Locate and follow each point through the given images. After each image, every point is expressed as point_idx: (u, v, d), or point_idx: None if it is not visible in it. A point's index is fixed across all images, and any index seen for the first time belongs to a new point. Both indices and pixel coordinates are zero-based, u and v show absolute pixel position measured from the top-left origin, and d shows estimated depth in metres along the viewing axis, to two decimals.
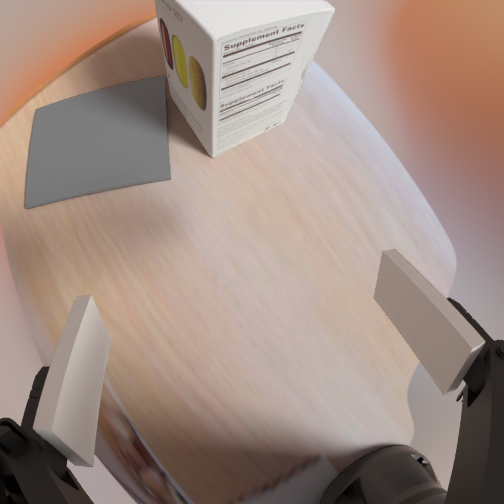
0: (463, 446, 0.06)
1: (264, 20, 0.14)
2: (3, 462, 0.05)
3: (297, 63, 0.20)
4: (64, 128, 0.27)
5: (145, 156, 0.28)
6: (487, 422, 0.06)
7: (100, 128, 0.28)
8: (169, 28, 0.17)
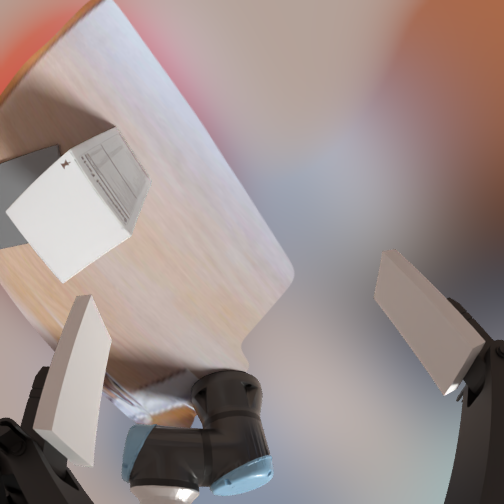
0: (463, 446, 0.06)
1: (83, 266, 0.24)
2: (3, 462, 0.05)
3: None
4: None
5: None
6: (487, 422, 0.06)
7: None
8: None
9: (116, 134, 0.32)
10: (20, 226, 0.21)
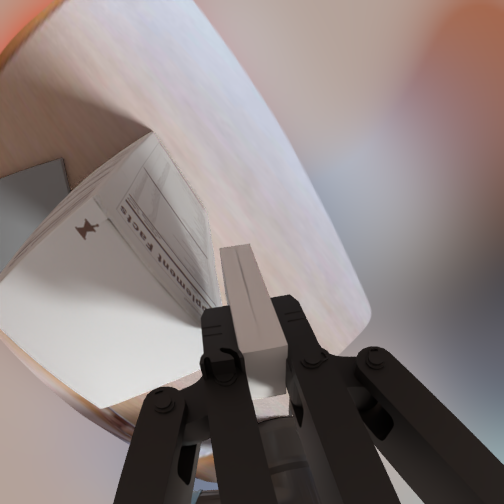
0: (315, 472, 0.07)
1: (138, 393, 0.14)
2: (192, 421, 0.07)
3: None
4: None
5: None
6: (323, 452, 0.06)
7: (16, 232, 0.24)
8: None
9: (157, 144, 0.21)
10: (11, 333, 0.11)
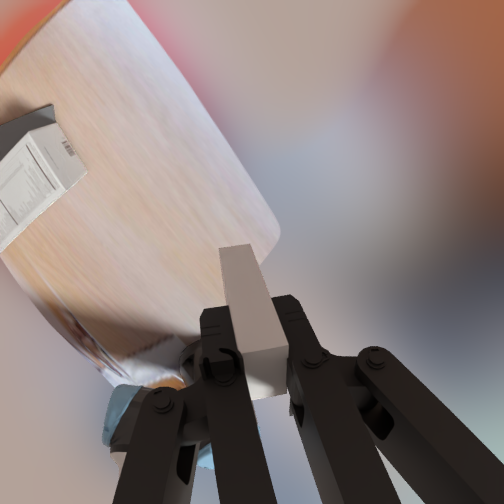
0: (316, 471, 0.07)
1: None
2: (191, 421, 0.07)
3: None
4: None
5: None
6: (324, 452, 0.06)
7: None
8: None
9: (19, 150, 0.26)
10: None
